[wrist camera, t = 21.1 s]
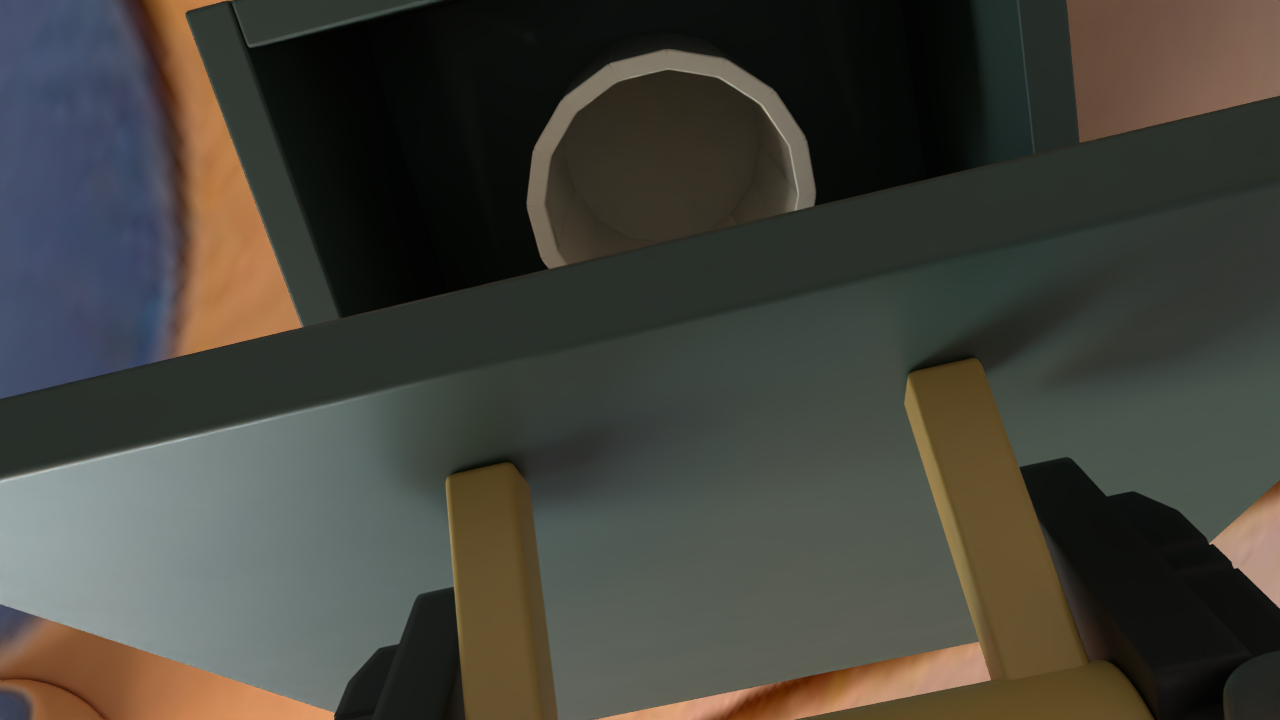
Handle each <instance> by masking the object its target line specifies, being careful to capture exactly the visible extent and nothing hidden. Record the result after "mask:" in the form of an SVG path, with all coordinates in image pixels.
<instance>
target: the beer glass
mask: <svg viewBox="0 0 1280 720" xmlns="http://www.w3.org/2000/svg"><path fill="white" fill-rule="evenodd" d="M0 720H103V719H102V718H101V716H100V715H99V714H98V713H97V712H96V711H95V710H94V709H93V708H92V707H91V706H89V705H88V704H87V703H86V702H84V701H83V700H81V699H80V698H78V697H77V696H75V695H73V694H71V693H70V692H68V691H66V690H63V689H61V688H59V687H56V686H53V685H50V684H46V683H43V682H38V681H32V680H23V679H9V680H0Z"/></svg>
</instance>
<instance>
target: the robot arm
mask: <svg viewBox="0 0 1280 720" xmlns="http://www.w3.org/2000/svg"><path fill="white" fill-rule="evenodd" d="M1019 468H1020V471H1021V474H1022V477H1023V479H1024V482H1025V485H1026V488H1027V490H1028V493H1029V496H1030V499H1031V501H1032V504H1033V507H1034V510H1035V513H1036V515H1037V518H1038V521H1039V524H1040V526H1041V529H1042V532H1043V535H1044V537H1045V540H1046V543H1047V546H1048V548H1049V551H1050V554H1051V557H1052V560H1053V562H1054V565H1055V568H1056V571H1057V573H1058V576H1059V579H1060V582H1061V584H1062V587H1063V590H1064V593H1065V595H1066V598H1067V601H1068V604H1069V607H1070V609H1071V612H1072V615H1073V618H1074V620H1075V623H1076V626H1077V629H1078V631H1079V634H1080V637H1081V640H1082V643H1083V645H1084V648H1085V651H1086V654H1087V656H1088V659H1089V661H1091V660H1096V659H1097V660H1105V661H1108V662H1110V663H1112V664H1114V665H1115V666H1116V667H1118V668H1119V669H1120V670H1121V671H1122V672H1123V673H1124V674H1125V675H1126V677H1127V678H1128V679H1129V680H1130V682H1131V683H1132V684H1133V686H1134V687H1135V689H1136V690H1137V691H1138V693H1139V694H1140V696H1141V697H1142V699H1143V700H1144V702H1145V704H1146V705H1147V707H1148V709H1149V710H1150V712H1151V714H1152V716H1153V717H1154V719H1155V720H1280V608H1278V607H1277V606H1276V605H1275V604H1274V603H1273V602H1272V601H1271V600H1270V599H1269V598H1268V597H1267V596H1266V595H1265V594H1264V593H1263V592H1262V591H1261V590H1260V589H1259V588H1258V587H1257V586H1256V585H1255V584H1254V583H1253V582H1252V581H1251V580H1250V579H1249V578H1248V577H1246V576H1245V575H1244V574H1243V573H1242V572H1241V571H1240V570H1239V569H1238V568H1236V569H1234V568H1233V566H1232V562H1231V561H1230V560H1229V559H1228V558H1227V557H1226V556H1225V555H1224V554H1223V553H1222V552H1221V551H1220V550H1219V549H1218V548H1217V547H1216V546H1215V545H1213V544H1211V545H1209V543H1208V540H1207V538H1206V537H1205V536H1204V535H1203V534H1202V533H1201V532H1200V531H1199V530H1198V529H1197V528H1196V527H1195V526H1194V525H1193V524H1192V523H1191V522H1190V521H1189V520H1188V519H1187V518H1186V517H1185V516H1184V515H1183V514H1181V513H1180V512H1179V511H1178V510H1176V509H1174V508H1172V507H1169V506H1167V505H1165V504H1162V503H1160V502H1158V501H1156V500H1153V499H1151V498H1149V497H1146V496H1144V495H1142V494H1139V493H1137V492H1135V491H1130V492H1125V493H1121V494H1116V495H1111V496H1106V495H1105V494H1104V493H1103V492H1102V491H1101V490H1100V489H1099V488H1098V486H1097V485H1096V484H1095V483H1094V482H1093V481H1092V480H1091V479H1090V478H1089V477H1088V476H1087V474H1086V473H1085V472H1084V471H1083V470H1082V469H1081V468H1080V467H1079V466H1078V465H1077V464H1076V463H1075V461H1073V460H1072V459H1071V458H1069V457H1063V458H1058V459H1054V460H1049V461H1044V462H1040V463H1035V464H1030V465H1026V466H1021V467H1019ZM334 718H335V720H465V712H464V700H463V688H462V676H461V664H460V652H459V640H458V628H457V616H456V604H455V592H454V587H449V588H445V589H440V590H435V591H431V592H426V593H421V594H419V595H418V596H417V597H416V599H415V601H414V604H413V607H412V610H411V612H410V615H409V618H408V621H407V623H406V626H405V629H404V632H403V634H402V637H401V640H400V643H399V644H396V645H391V646H386V647H382V648H378V650H377V651H376V652H375V653H374V654H373V655H372V656H371V657H370V658H369V659H368V661H367V662H366V663H365V664H364V665H363V666H362V667H361V668H360V669H359V671H358V672H357V673H356V674H355V675H354V676H353V677H352V678H351V679H350V680H349V682H348V684H347V686H346V689H345V691H344V693H343V696H342V698H341V701H340V703H339V705H338V708H337V710H336V713H335V715H334Z"/></svg>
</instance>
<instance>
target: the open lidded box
mask: <svg viewBox="0 0 1280 720" xmlns="http://www.w3.org/2000/svg"><path fill="white" fill-rule="evenodd" d="M186 18H187V21H188V24H189V26H190V29H191V32H192V34H193V37H194V40H195V42H196V45H197V48H198V50H199V53H200V56H201V58H202V61H203V64H204V66H205V69H206V72H207V74H208V77H209V80H210V82H211V85H212V88H213V90H214V93H215V96H216V98H217V101H218V104H219V106H220V109H221V112H222V114H223V117H224V120H225V122H226V125H227V128H228V130H229V133H230V136H231V138H232V141H233V144H234V146H235V149H236V152H237V154H238V157H239V160H240V162H241V165H242V168H243V170H244V173H245V176H246V179H247V181H248V184H249V187H250V189H251V192H252V195H253V197H254V200H255V203H256V205H257V208H258V211H259V213H260V216H261V219H262V221H263V224H264V227H265V229H266V232H267V235H268V237H269V240H270V243H271V245H272V248H273V251H274V253H275V256H276V259H277V261H278V264H279V267H280V269H281V272H282V275H283V277H284V280H285V283H286V285H287V288H288V291H289V293H290V296H291V299H292V301H293V304H294V307H295V309H296V312H297V315H298V317H299V320H300V323H301V325H302V327H307V326H311V325H315V324H319V323H323V322H328V321H332V320H336V319H340V318H345V317H349V316H353V315H357V314H361V313H366V312H370V311H374V310H378V309H383V308H387V307H391V306H395V305H399V304H404V303H408V302H412V301H416V300H420V299H425V298H429V297H433V296H437V295H442V294H446V293H450V292H454V291H458V290H463V289H467V288H471V287H475V286H480V285H484V284H488V283H492V282H496V281H501V280H505V279H509V278H513V277H517V276H522V275H526V274H530V273H534V272H539V271H543V270H547V269H548V267H547V266H546V265H545V264H544V262H543V261H542V258H541V257H540V254H539V250H538V247H537V243H536V239H535V236H534V232H533V229H532V225H531V222H530V218H529V214H528V211H527V204H526V201H527V193H528V185H529V177H530V169H531V161H532V152H533V150H534V146H535V144H536V143H537V141H538V139H539V137H540V136H541V134H542V132H543V130H544V128H545V127H546V125H547V123H548V121H549V120H550V118H551V116H552V114H553V112H554V111H555V109H556V107H557V105H558V104H559V102H560V100H561V98H562V97H563V95H564V93H565V91H566V90H567V88H568V86H569V85H570V83H571V81H572V79H573V78H574V76H575V74H576V72H577V71H578V70H579V69H580V67H582V66H583V65H584V64H586V63H587V62H588V61H590V60H591V59H592V58H593V57H594V56H595V55H596V54H598V53H599V52H601V51H602V50H604V49H605V48H607V47H608V46H609V45H611V44H612V43H614V42H616V41H619V40H623V39H626V38H629V37H632V36H635V35H639V34H645V33H651V32H655V31H665V32H673V33H681V34H686V35H690V36H695V37H701V38H703V39H706V40H707V41H709V42H710V43H712V44H714V45H715V46H717V47H718V48H720V49H722V50H723V51H724V52H726V53H727V54H729V55H730V56H732V57H734V58H735V59H737V60H738V61H740V62H741V63H742V64H743V65H745V66H746V67H747V68H748V69H750V70H751V71H752V72H753V73H754V74H756V75H757V76H758V77H759V78H761V79H762V80H763V81H764V82H765V83H767V84H768V85H769V86H770V87H772V88H773V89H774V90H775V91H776V92H777V94H778V95H779V97H780V98H781V100H782V101H783V103H784V104H785V106H786V107H787V109H788V110H789V112H790V113H791V115H792V116H793V118H794V119H795V121H796V122H797V124H798V125H799V127H800V128H801V130H802V131H803V133H804V135H805V136H806V139H807V142H808V147H809V153H810V158H811V164H812V169H813V175H814V180H815V186H816V191H817V192H816V201H815V205H814V206H817V205H821V204H825V203H830V202H834V201H838V200H842V199H846V198H851V197H855V196H859V195H863V194H867V193H872V192H876V191H880V190H884V189H889V188H893V187H897V186H901V185H905V184H910V183H914V182H918V181H922V180H927V179H931V178H935V177H939V176H943V175H948V174H952V173H956V172H960V171H964V170H969V169H973V168H977V167H981V166H986V165H990V164H994V163H998V162H1002V161H1007V160H1011V159H1015V158H1019V157H1024V156H1028V155H1032V154H1036V153H1040V152H1045V151H1049V150H1053V149H1057V148H1061V147H1066V146H1070V145H1074V144H1078V143H1080V142H1079V131H1078V120H1077V109H1076V98H1075V88H1074V77H1073V66H1072V55H1071V45H1070V34H1069V23H1068V12H1067V1H1066V0H231V1H223V2H220V3H216V4H212V5H208V6H204V7H201V8H197V9H193V10H189V11H187V12H186Z"/></svg>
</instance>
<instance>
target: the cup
mask: <svg viewBox="0 0 1280 720" xmlns="http://www.w3.org/2000/svg"><path fill="white" fill-rule="evenodd" d="M816 192H817V191H816V186H815V180H814V175H813V169H812V164H811V158H810V153H809V147H808V142H807V139H806V136H805V135H804V133H803V131H802V130H801V128H800V127H799V125H798V124H797V122H796V121H795V119H794V118H793V116H792V115H791V113H790V112H789V110H788V109H787V107H786V106H785V104H784V103H783V101H782V100H781V98H780V97H779V95H778V94H777V92H776V91H775V90H774V89H773V88H772V87H770V86H769V85H768V84H767V83H765V82H764V81H763V80H762V79H761V78H759V77H758V76H757V75H756V74H754V73H753V72H752V71H751V70H750V69H748V68H747V67H746V66H745V65H743V64H742V63H741V62H740V61H738V60H737V59H735V58H734V57H732V56H730V55H729V54H727V53H726V52H724V51H723V50H722V49H720V48H718V47H717V46H715V45H714V44H712V43H710V42H709V41H707V40H706V39H703V38H701V37H695V36H690V35H686V34H681V33H673V32H665V31H655V32H651V33H645V34H639V35H635V36H632V37H629V38H626V39H623V40H619V41H616V42H614V43H612V44H611V45H609V46H608V47H607V48H605V49H604V50H602V51H601V52H599V53H598V54H596V55H595V56H594V57H593V58H592V59H591V60H590V61H588V62H587V63H586V64H584V65H583V66H582V67H580V69H579V70H578V71H577V72H576V74H575V76H574V78H573V79H572V81H571V83H570V85H569V86H568V88H567V90H566V91H565V93H564V95H563V97H562V98H561V100H560V102H559V104H558V105H557V107H556V109H555V111H554V112H553V114H552V116H551V118H550V120H549V121H548V123H547V125H546V127H545V128H544V130H543V132H542V134H541V136H540V137H539V139H538V141H537V143H536V144H535V146H534V150H533V152H532V161H531V169H530V177H529V185H528V193H527V201H526V204H527V211H528V214H529V218H530V222H531V225H532V229H533V232H534V236H535V239H536V243H537V247H538V250H539V254H540V257H541V258H542V261H543V262H544V264H545V265H546V266H547V267H548V269H551V268H555V267H560V266H564V265H568V264H572V263H577V262H581V261H585V260H589V259H593V258H598V257H602V256H606V255H610V254H614V253H619V252H623V251H627V250H631V249H636V248H640V247H644V246H648V245H652V244H657V243H661V242H665V241H669V240H674V239H678V238H682V237H686V236H690V235H695V234H699V233H703V232H707V231H711V230H716V229H720V228H724V227H728V226H733V225H737V224H741V223H745V222H749V221H754V220H758V219H762V218H766V217H770V216H775V215H779V214H783V213H787V212H792V211H796V210H800V209H804V208H808V207H813V206H814V205H815V201H816Z"/></svg>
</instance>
